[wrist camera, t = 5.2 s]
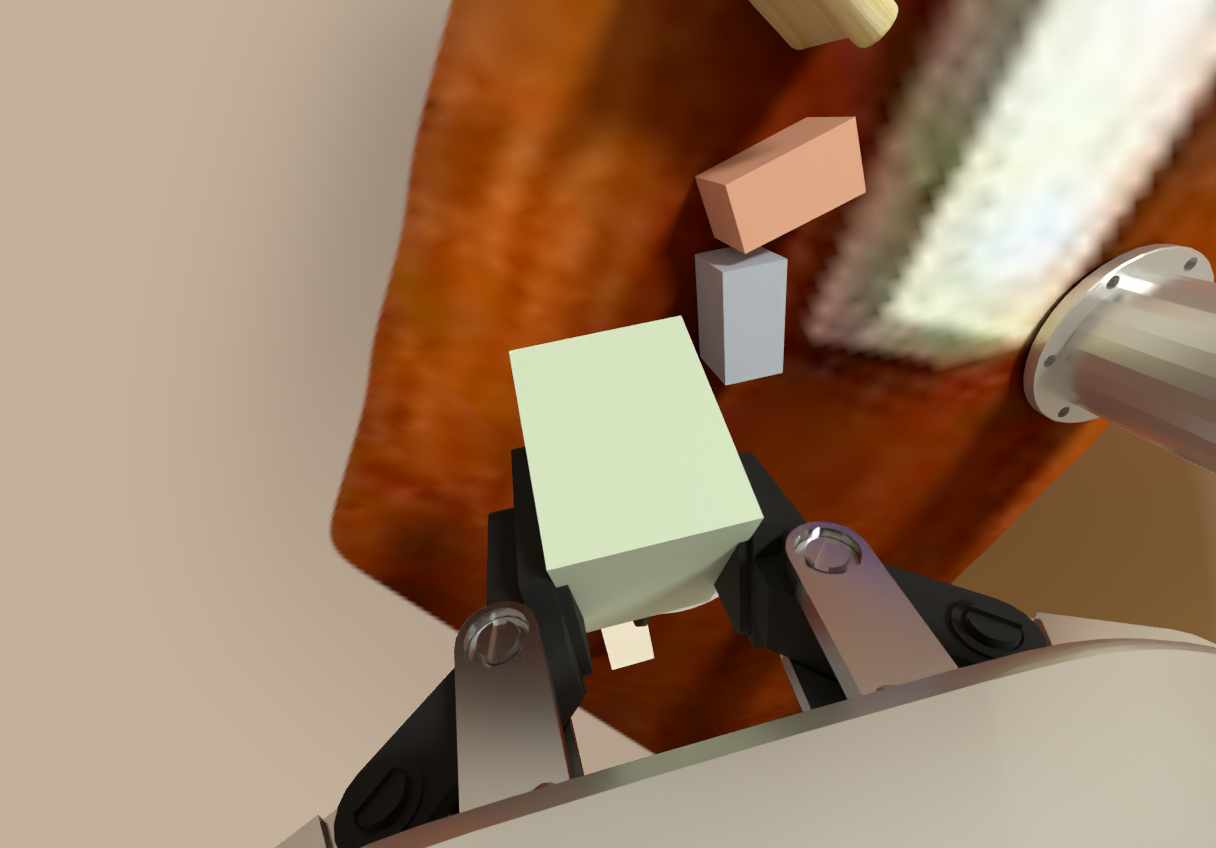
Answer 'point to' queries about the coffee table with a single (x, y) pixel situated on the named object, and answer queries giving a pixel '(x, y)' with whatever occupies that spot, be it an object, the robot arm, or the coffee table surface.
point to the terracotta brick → (783, 181)
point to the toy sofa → (828, 20)
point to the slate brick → (741, 312)
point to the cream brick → (627, 644)
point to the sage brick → (631, 470)
